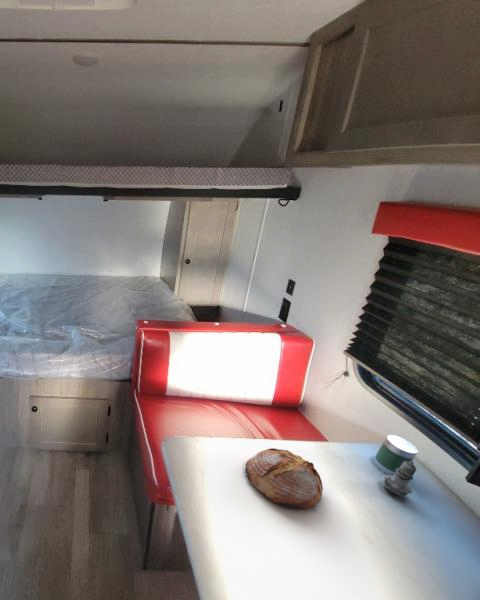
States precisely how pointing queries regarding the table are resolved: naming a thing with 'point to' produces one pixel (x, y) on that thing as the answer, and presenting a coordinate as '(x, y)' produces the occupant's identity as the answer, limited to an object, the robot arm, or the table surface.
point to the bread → (285, 478)
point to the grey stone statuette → (400, 481)
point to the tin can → (394, 454)
